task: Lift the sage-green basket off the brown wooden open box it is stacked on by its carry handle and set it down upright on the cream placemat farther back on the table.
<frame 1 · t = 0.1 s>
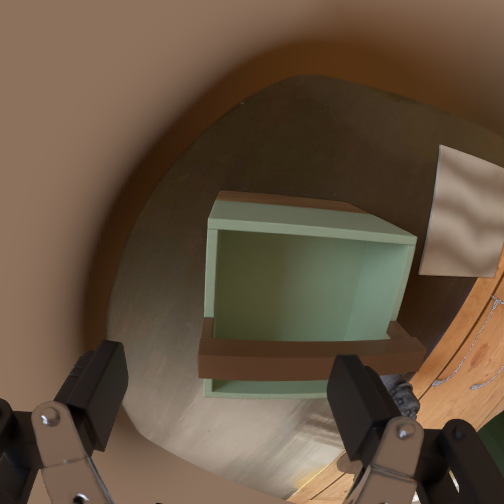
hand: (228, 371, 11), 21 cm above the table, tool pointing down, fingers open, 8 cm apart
candle holder: (357, 456, 46), on the table
brown wooden open box: (278, 257, 32), on the table, touching top basket
top basket: (289, 283, 26), point 7 cm above the table, touching brown wooden open box
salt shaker: (378, 359, 38), on the table
placemat: (473, 218, 32), on the table
flower pot: (486, 438, 53), on the table
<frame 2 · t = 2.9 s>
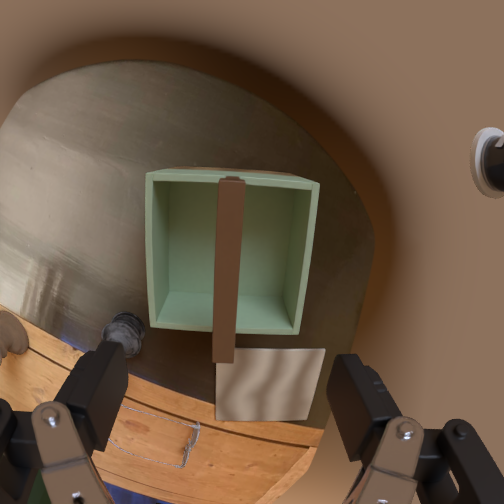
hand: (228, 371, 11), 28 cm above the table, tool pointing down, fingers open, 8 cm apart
candle holder: (12, 331, 40), on the table
brown wooden open box: (229, 222, 37), on the table, touching top basket
top basket: (228, 237, 30), point 7 cm above the table, touching brown wooden open box
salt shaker: (128, 326, 41), on the table
placemat: (266, 387, 45), on the table
flower pot: (44, 461, 54), on the table
eyeglasses: (146, 423, 47), on the table
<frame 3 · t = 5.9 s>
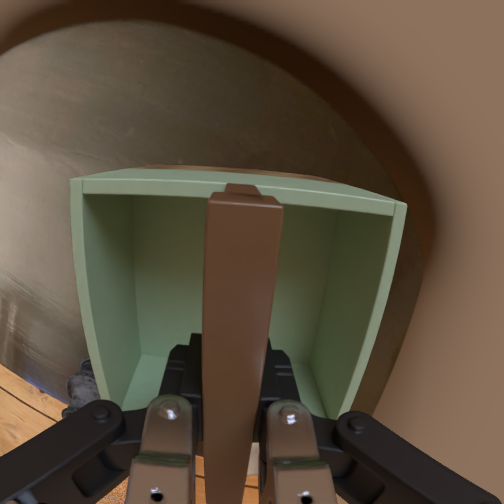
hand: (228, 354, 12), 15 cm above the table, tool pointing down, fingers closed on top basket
brown wooden open box: (230, 247, 25), on the table, touching top basket
top basket: (230, 280, 19), point 7 cm above the table, touching brown wooden open box, gripper
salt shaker: (100, 374, 29), on the table
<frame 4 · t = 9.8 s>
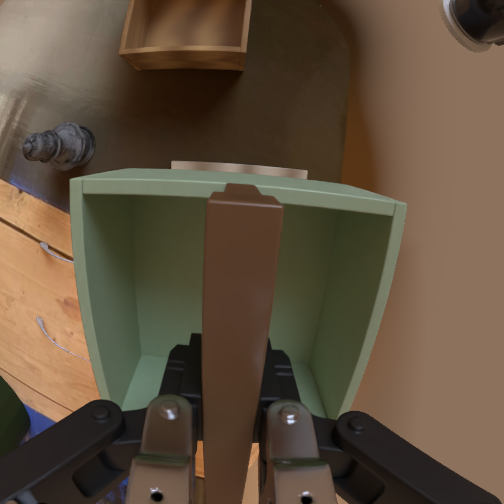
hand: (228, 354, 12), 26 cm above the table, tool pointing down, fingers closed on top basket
brown wooden open box: (195, 23, 29), on the table
top basket: (230, 280, 19), point 19 cm above the table, touching gripper
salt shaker: (78, 146, 33), on the table
placemat: (234, 230, 37), on the table
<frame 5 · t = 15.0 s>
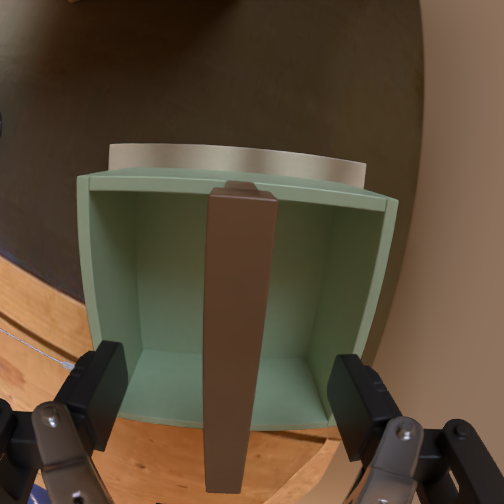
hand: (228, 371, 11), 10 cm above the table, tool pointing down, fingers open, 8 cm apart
top basket: (229, 275, 19), resting on placemat
placemat: (229, 273, 20), on the table
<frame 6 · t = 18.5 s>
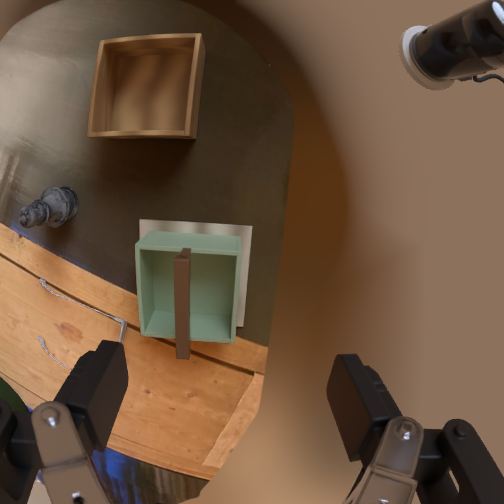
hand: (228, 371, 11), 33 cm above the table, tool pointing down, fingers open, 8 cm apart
brown wooden open box: (154, 93, 36), on the table
top basket: (192, 276, 44), resting on placemat
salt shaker: (65, 203, 40), on the table
placemat: (193, 275, 45), on the table
eyeglasses: (79, 327, 47), on the table
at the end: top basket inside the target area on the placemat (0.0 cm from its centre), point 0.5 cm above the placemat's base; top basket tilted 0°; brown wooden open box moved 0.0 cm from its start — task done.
